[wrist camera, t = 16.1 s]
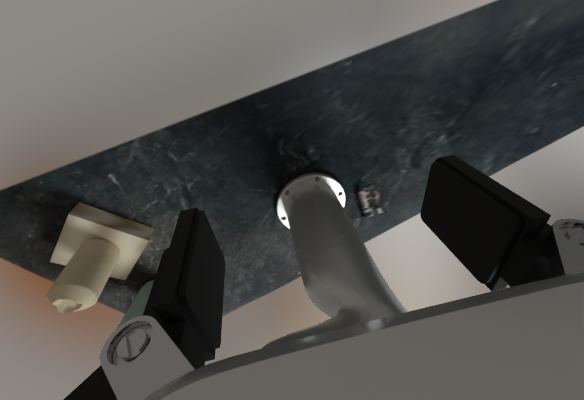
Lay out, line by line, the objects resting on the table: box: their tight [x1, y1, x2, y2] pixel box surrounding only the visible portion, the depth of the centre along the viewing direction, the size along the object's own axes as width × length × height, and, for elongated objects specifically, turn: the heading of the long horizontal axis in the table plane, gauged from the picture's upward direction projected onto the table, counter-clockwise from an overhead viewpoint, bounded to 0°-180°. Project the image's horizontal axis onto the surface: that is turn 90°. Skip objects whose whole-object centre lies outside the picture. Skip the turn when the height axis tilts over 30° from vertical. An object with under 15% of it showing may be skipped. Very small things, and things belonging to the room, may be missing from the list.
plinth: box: [50, 202, 154, 280], centre depth 42 cm, size 11×11×3 cm
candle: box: [47, 239, 120, 314], centre depth 36 cm, size 6×6×10 cm
